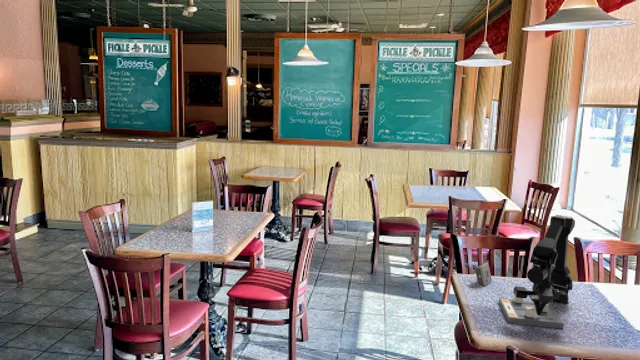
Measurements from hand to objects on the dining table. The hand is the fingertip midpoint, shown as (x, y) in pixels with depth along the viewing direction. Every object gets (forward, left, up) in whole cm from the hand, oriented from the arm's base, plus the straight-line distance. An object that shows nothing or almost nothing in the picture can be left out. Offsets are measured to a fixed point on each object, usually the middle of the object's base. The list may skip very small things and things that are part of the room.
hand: (538, 315), depth 182 cm
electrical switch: (+14, -41, -3) cm, 44 cm away
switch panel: (+1, -7, -3) cm, 8 cm away
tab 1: (+3, 0, -1) cm, 3 cm away
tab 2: (-4, -7, -1) cm, 8 cm away
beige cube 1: (+4, -14, -1) cm, 15 cm away
